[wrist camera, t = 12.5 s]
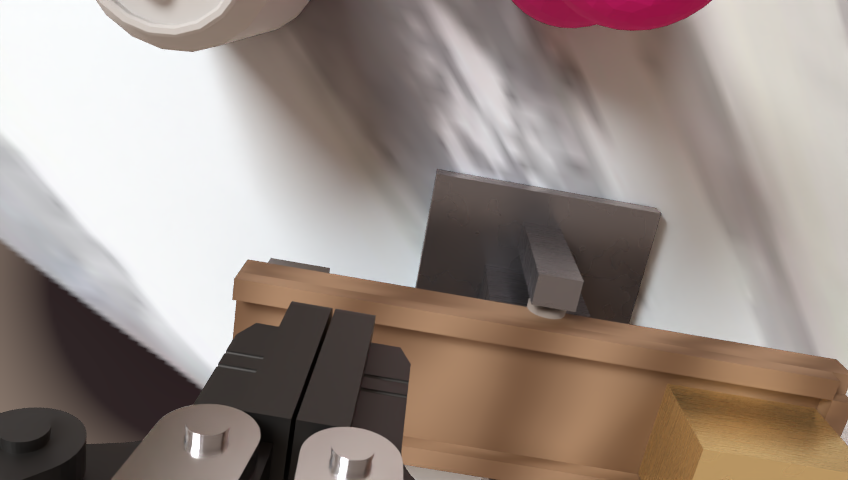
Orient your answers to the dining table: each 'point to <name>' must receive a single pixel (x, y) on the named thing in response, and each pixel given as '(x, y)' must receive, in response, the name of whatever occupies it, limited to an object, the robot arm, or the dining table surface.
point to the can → (199, 20)
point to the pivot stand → (535, 246)
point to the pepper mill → (610, 12)
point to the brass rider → (740, 440)
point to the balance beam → (535, 374)
